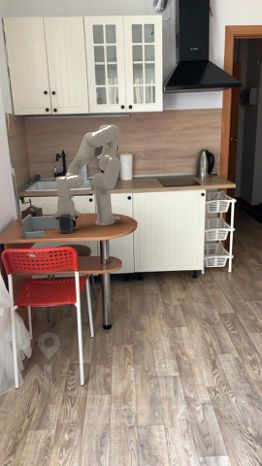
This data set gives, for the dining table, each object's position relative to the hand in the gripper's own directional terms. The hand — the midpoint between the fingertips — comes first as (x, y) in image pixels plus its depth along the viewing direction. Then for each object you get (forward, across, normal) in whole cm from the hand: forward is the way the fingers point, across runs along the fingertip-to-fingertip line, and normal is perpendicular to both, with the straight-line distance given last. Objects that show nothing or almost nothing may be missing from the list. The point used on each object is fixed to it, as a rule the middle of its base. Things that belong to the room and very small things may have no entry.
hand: (68, 226), depth 227 cm
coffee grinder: (+3, +31, -27) cm, 41 cm away
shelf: (+3, +13, 0) cm, 13 cm away
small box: (+3, 0, 0) cm, 3 cm away
